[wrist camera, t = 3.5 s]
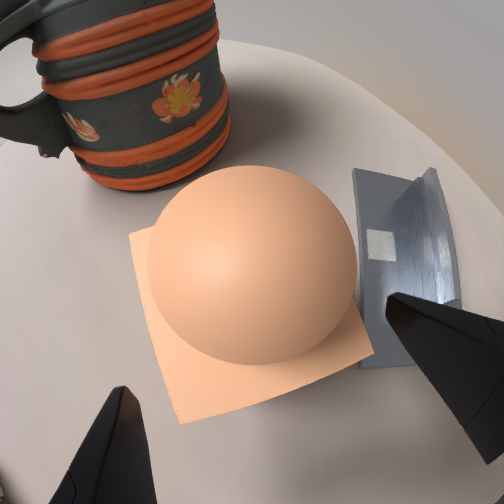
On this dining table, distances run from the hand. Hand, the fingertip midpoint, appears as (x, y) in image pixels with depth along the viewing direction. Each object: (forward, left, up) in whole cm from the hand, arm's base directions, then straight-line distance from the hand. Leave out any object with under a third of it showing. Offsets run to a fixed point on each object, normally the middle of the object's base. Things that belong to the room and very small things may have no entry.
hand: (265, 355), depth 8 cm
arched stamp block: (+2, -1, -9) cm, 9 cm away
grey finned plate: (-5, -13, -10) cm, 17 cm away
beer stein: (+20, -5, -10) cm, 23 cm away
